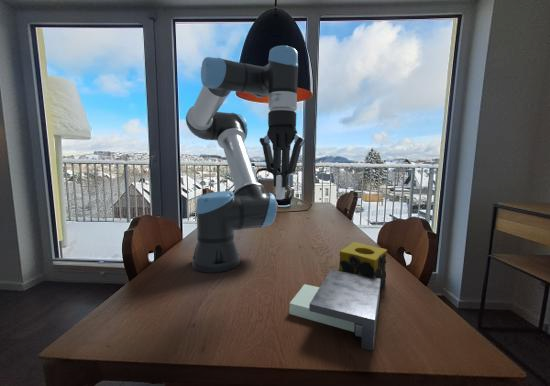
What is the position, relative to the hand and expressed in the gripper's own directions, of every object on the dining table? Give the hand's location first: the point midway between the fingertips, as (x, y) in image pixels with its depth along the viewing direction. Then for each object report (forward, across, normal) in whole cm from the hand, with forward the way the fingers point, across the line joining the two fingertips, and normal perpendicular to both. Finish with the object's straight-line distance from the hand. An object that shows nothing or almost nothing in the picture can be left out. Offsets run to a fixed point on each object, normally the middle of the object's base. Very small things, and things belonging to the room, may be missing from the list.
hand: (280, 198), depth 73 cm
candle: (+23, +22, +7) cm, 33 cm away
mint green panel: (+23, +17, -10) cm, 31 cm away
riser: (+23, +22, -10) cm, 33 cm away
